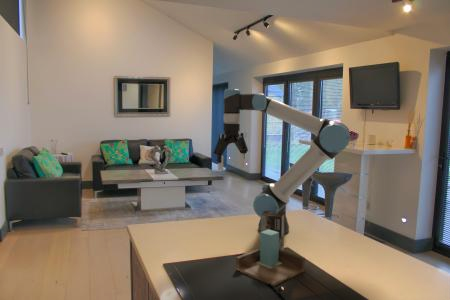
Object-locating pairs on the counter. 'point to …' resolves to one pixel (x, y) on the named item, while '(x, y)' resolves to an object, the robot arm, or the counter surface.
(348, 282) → the counter surface
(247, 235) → the counter surface
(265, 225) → the coffee box
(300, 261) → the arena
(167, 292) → the counter surface
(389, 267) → the counter surface
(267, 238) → the teal block
